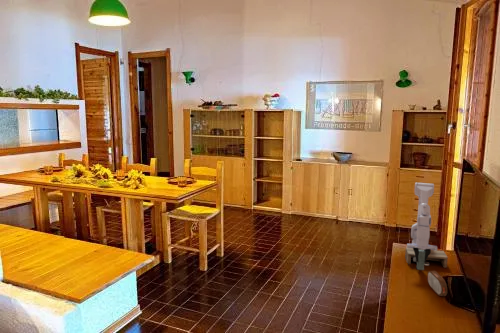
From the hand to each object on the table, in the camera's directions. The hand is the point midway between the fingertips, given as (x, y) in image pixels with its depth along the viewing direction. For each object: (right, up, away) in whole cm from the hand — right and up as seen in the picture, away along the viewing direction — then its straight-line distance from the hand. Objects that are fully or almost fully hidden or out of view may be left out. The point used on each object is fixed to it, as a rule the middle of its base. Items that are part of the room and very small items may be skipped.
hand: (420, 261), depth 197 cm
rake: (+1, -3, +5) cm, 6 cm away
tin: (-1, -10, -19) cm, 21 cm away
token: (+8, -4, +10) cm, 13 cm away
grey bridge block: (+8, -3, +12) cm, 15 cm away
